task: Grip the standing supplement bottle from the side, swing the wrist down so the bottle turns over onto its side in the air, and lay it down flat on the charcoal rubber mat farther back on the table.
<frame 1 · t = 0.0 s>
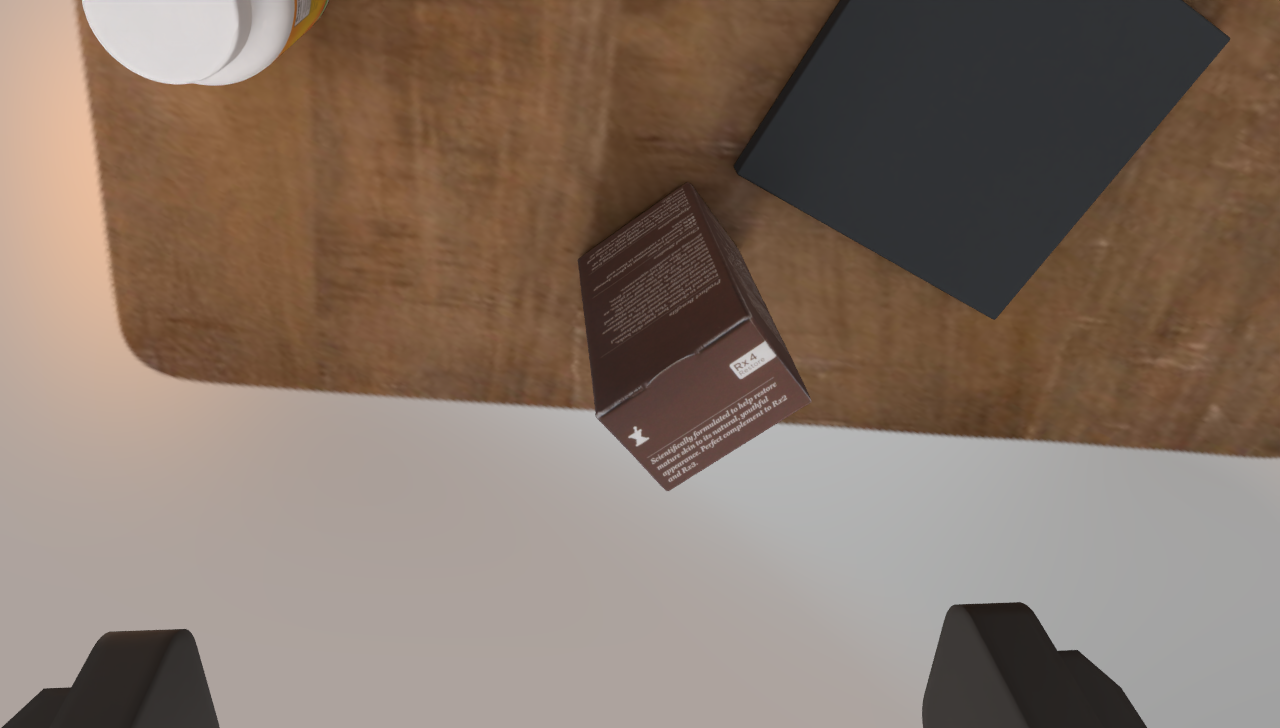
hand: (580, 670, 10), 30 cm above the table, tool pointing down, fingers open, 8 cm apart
box: (661, 254, 41), on the table
charcoal mat: (970, 100, 38), on the table
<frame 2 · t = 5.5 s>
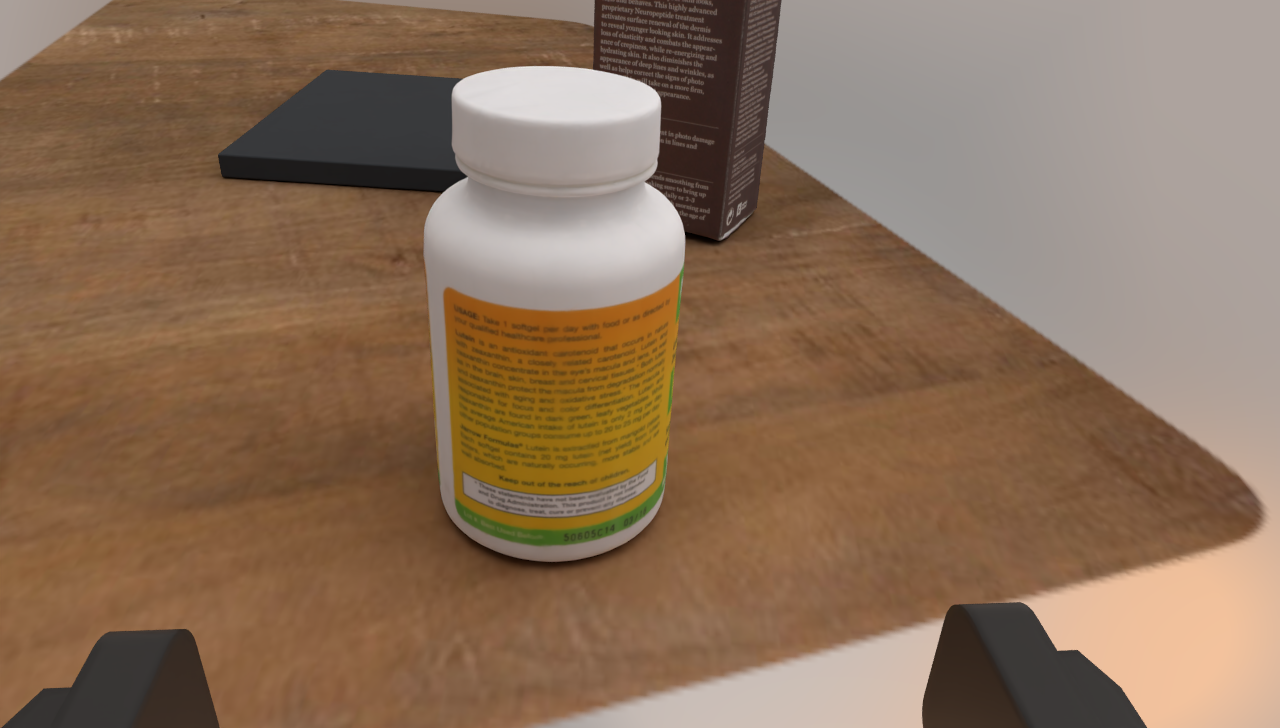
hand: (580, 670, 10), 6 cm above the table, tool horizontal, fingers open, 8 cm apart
box: (672, 216, 39), on the table
supplement bottle: (553, 498, 23), on the table
charcoal mat: (427, 136, 45), on the table
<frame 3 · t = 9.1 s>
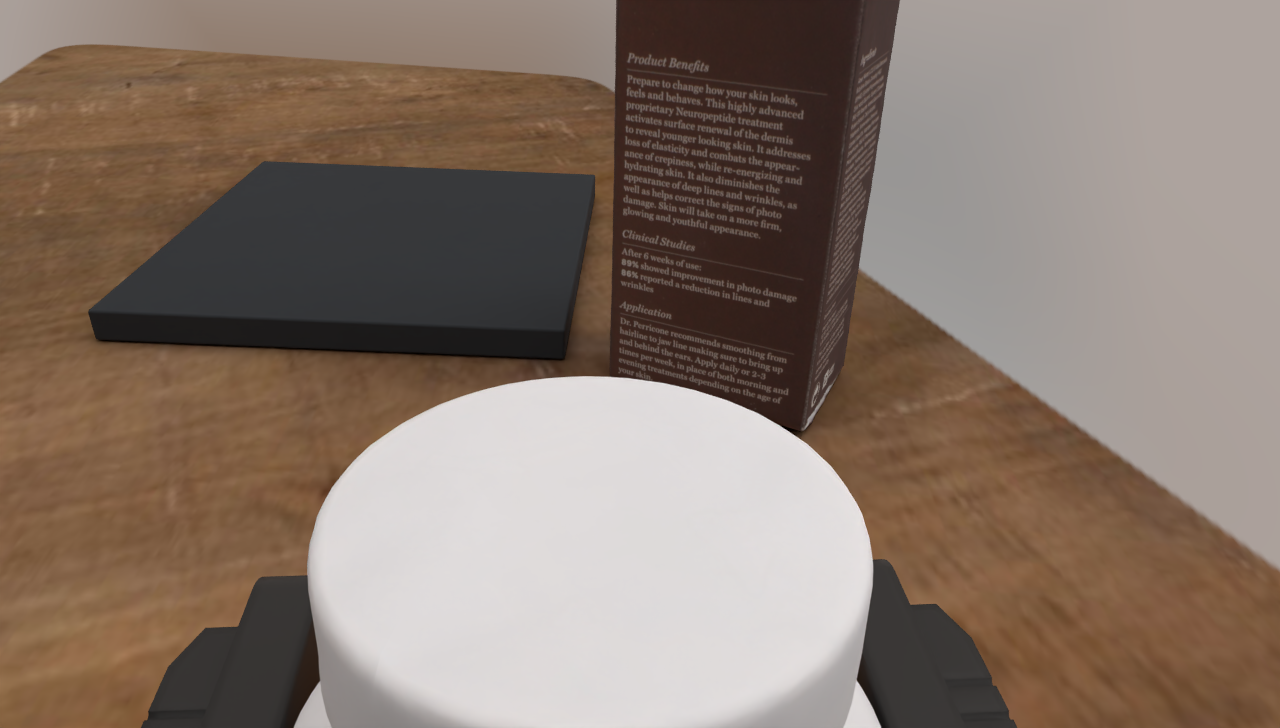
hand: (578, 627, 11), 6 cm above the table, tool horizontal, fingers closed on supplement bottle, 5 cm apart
box: (727, 380, 28), on the table
charcoal mat: (389, 256, 34), on the table
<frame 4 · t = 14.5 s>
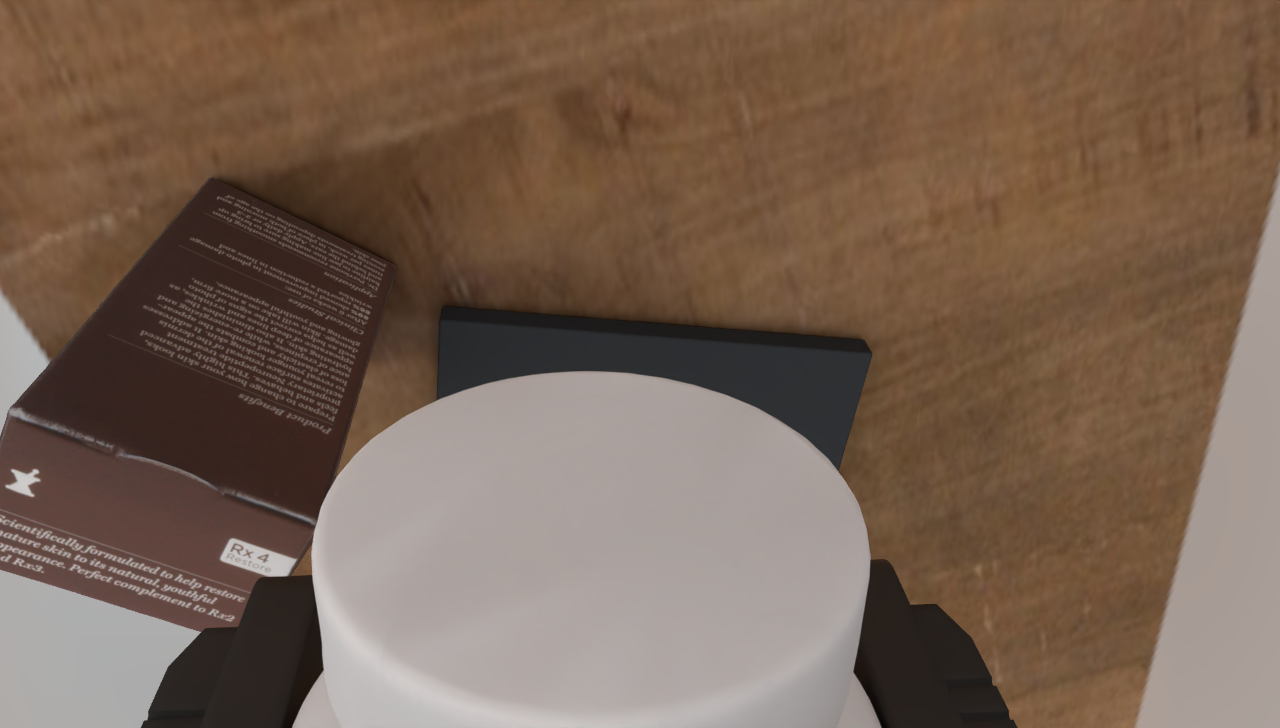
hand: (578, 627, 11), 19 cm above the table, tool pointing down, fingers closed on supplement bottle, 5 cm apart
box: (284, 276, 29), on the table
charcoal mat: (632, 493, 34), on the table
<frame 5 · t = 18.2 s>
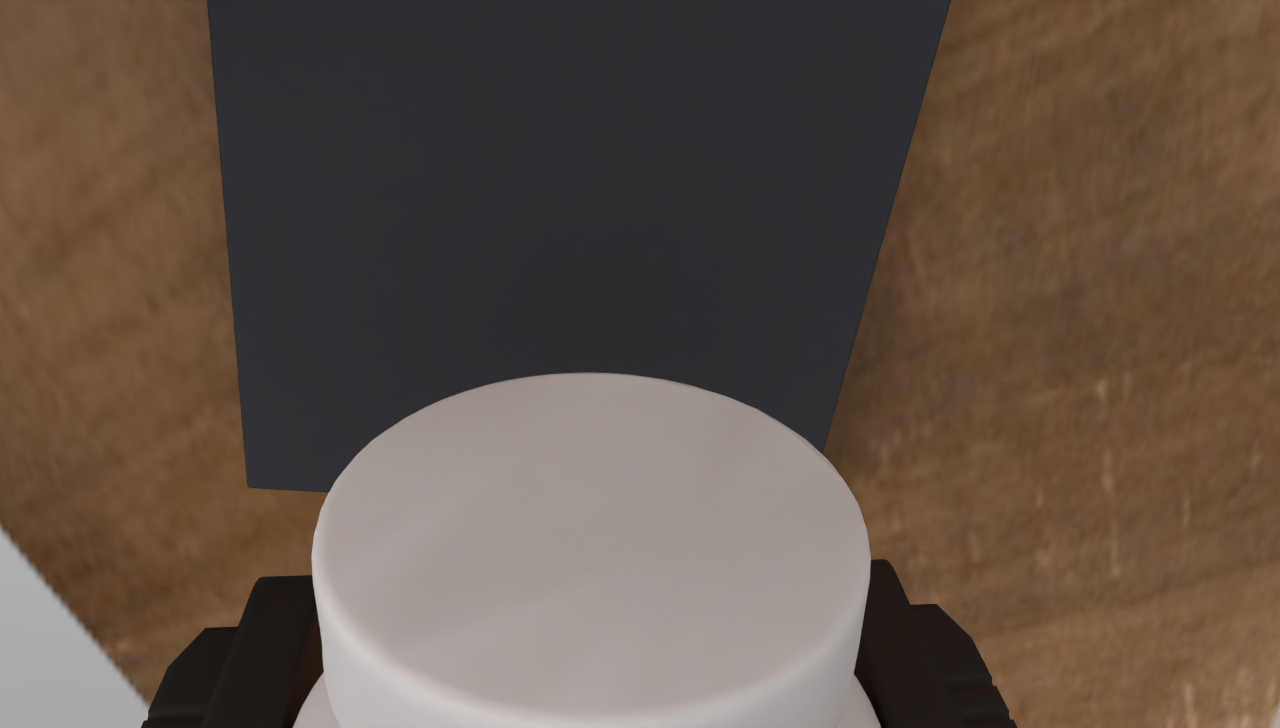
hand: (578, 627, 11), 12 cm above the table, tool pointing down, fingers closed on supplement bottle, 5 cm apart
charcoal mat: (563, 232, 21), on the table
when the fingers open (1 cm above the table, at t = 21.6 s): supplement bottle stays where it is, resting on charcoal mat.
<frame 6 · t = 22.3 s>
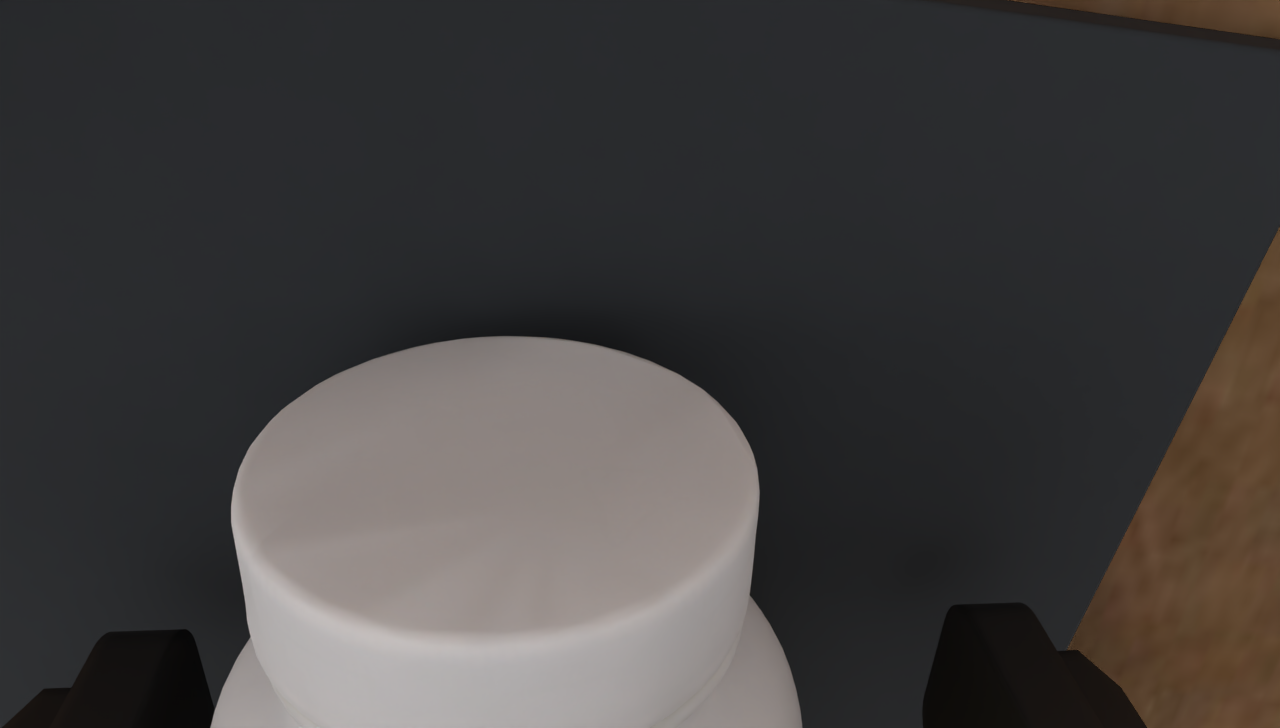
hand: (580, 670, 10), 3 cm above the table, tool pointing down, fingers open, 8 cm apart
charcoal mat: (567, 521, 12), on the table
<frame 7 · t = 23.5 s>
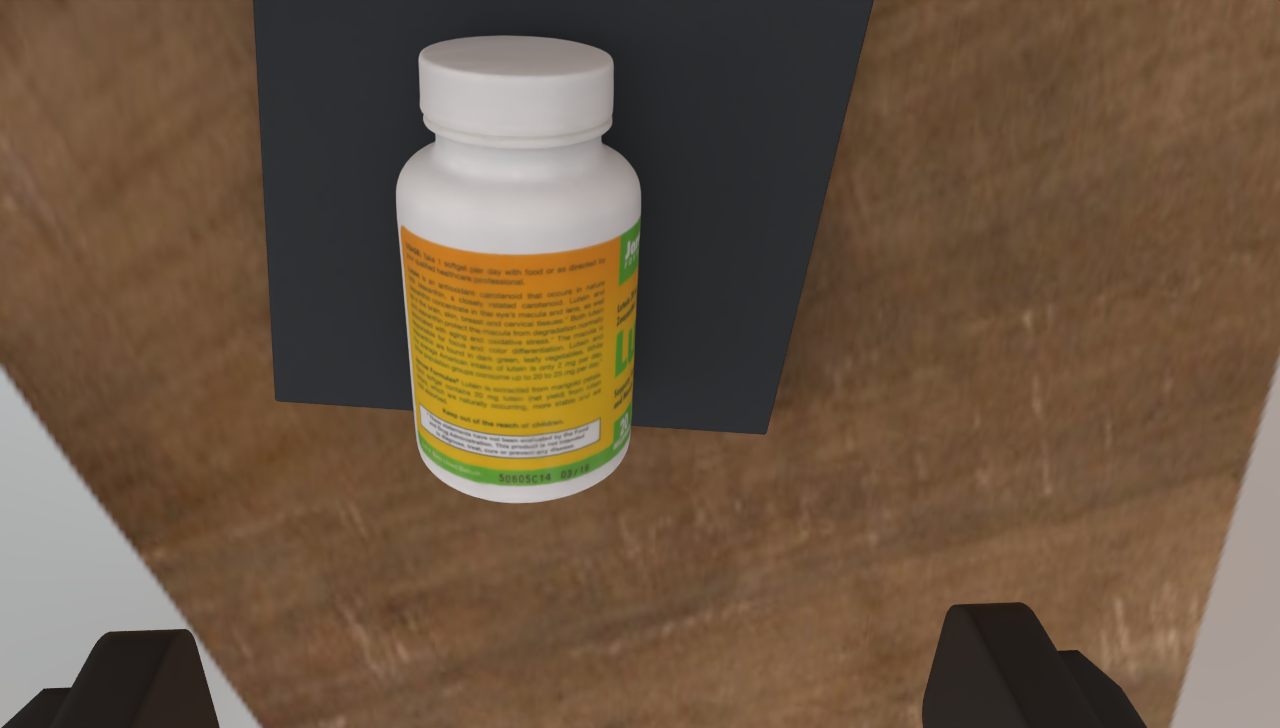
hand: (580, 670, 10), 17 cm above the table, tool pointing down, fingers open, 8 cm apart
supplement bottle: (525, 450, 24), point 4 cm above the table, touching charcoal mat
charcoal mat: (553, 172, 24), on the table
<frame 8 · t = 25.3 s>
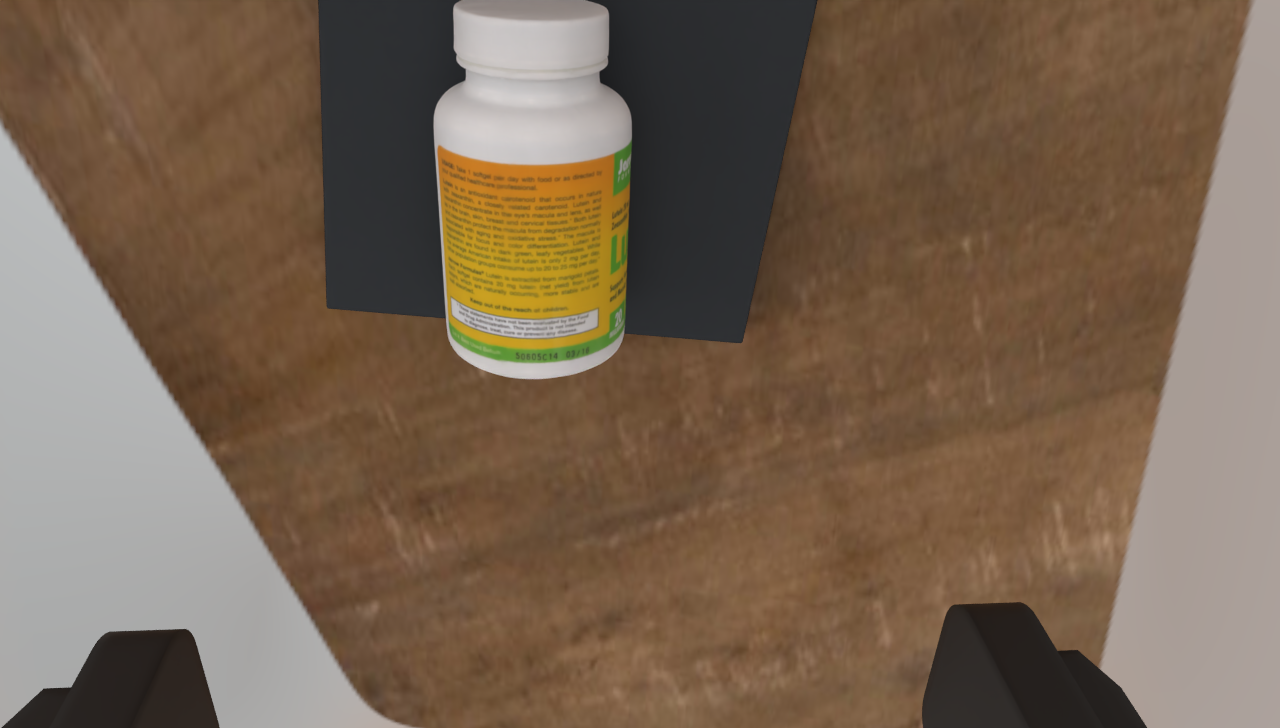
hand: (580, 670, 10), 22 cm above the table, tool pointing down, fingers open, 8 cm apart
supplement bottle: (537, 344, 29), point 4 cm above the table, touching charcoal mat
charcoal mat: (560, 113, 29), on the table
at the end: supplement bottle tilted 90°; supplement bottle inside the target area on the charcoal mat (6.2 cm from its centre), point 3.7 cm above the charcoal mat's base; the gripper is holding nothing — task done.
